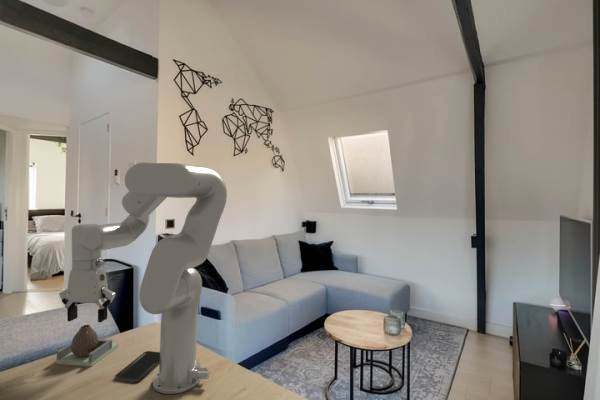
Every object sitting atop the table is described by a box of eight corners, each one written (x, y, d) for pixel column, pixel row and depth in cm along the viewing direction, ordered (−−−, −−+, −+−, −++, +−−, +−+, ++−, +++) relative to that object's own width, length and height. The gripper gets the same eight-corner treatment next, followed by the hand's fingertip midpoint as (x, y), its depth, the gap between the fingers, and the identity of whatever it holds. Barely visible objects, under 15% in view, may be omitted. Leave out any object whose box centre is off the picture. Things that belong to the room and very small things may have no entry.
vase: (84, 361, 93) (85, 332, 93) (65, 358, 95) (65, 329, 94) (103, 350, 100) (104, 323, 100) (85, 347, 101) (85, 320, 101)
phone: (112, 377, 87) (146, 350, 102) (112, 381, 87) (146, 354, 102) (138, 381, 86) (169, 353, 101) (138, 385, 86) (168, 356, 101)
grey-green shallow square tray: (117, 346, 105) (118, 335, 105) (91, 366, 93) (92, 354, 93) (86, 344, 106) (86, 333, 106) (56, 363, 94) (56, 351, 94)
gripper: (121, 262, 100) (122, 316, 100) (70, 261, 101) (70, 314, 101) (105, 267, 92) (106, 326, 93) (49, 266, 94) (50, 324, 94)
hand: (87, 320), depth 97 cm, fingers open, 9 cm apart
